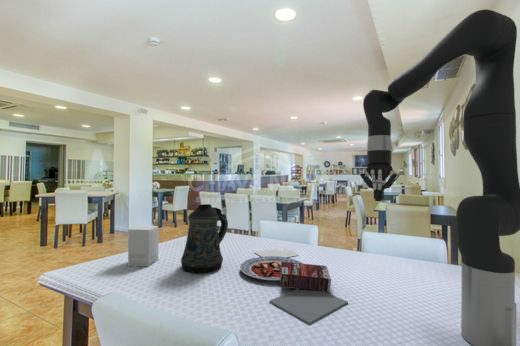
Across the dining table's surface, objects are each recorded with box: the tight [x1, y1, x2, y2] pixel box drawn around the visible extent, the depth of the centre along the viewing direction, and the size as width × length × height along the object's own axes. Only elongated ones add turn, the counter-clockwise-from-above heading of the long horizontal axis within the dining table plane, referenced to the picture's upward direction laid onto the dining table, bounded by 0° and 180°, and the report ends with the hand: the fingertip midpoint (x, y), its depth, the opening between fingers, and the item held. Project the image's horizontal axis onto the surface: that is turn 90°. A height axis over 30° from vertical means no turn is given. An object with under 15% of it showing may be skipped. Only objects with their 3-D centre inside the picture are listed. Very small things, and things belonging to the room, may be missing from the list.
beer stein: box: [180, 203, 229, 275], centre depth 109 cm, size 16×19×25 cm
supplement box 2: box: [127, 225, 159, 267], centre depth 112 cm, size 9×9×15 cm
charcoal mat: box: [269, 288, 349, 325], centre depth 78 cm, size 15×18×1 cm
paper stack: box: [253, 248, 298, 258], centre depth 132 cm, size 23×25×1 cm
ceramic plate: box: [239, 256, 304, 282], centre depth 103 cm, size 26×26×3 cm
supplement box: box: [280, 262, 332, 293], centre depth 89 cm, size 9×5×16 cm
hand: (378, 200), depth 90 cm, fingers closed
